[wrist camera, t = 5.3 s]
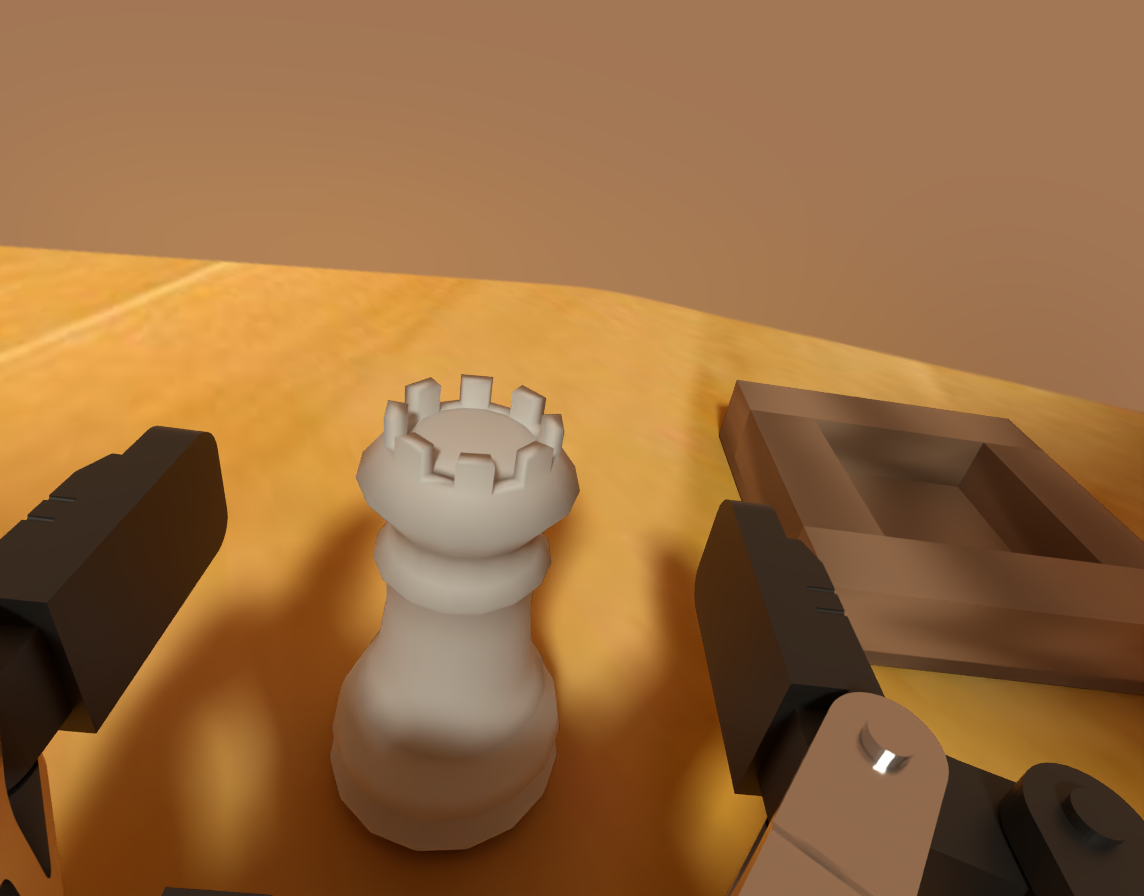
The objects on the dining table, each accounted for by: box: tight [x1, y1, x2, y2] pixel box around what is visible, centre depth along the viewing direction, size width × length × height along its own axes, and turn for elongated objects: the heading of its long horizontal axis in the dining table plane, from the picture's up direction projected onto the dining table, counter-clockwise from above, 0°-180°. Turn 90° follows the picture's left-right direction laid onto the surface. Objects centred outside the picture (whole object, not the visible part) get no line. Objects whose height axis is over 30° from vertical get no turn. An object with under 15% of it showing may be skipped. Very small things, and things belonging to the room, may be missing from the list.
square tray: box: [719, 380, 1144, 695], centre depth 22 cm, size 11×11×2 cm
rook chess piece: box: [330, 374, 580, 851], centre depth 12 cm, size 4×4×8 cm
